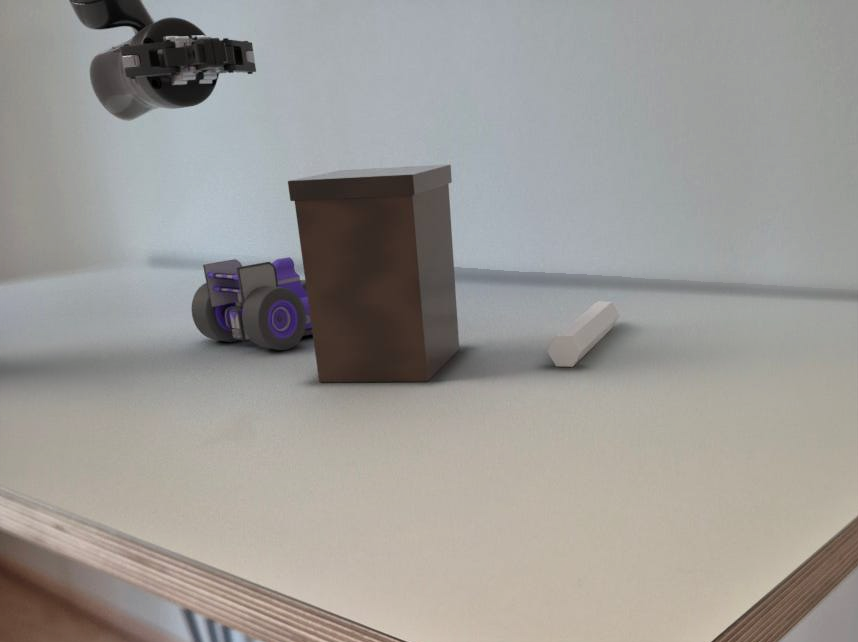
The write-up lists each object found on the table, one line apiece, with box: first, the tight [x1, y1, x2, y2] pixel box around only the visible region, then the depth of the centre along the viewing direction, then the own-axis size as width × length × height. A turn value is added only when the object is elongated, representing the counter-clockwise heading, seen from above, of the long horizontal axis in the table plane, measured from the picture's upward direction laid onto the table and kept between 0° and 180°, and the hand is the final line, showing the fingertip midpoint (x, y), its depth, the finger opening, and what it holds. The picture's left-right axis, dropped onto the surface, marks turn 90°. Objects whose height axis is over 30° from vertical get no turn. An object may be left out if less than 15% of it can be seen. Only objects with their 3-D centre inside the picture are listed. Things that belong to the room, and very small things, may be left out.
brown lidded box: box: [287, 164, 460, 383], centre depth 69 cm, size 9×10×13 cm
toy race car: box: [191, 256, 313, 351], centre depth 83 cm, size 10×15×6 cm, turn 139°
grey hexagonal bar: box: [547, 301, 620, 368], centre depth 74 cm, size 3×2×16 cm
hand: (214, 52), depth 83 cm, fingers closed
